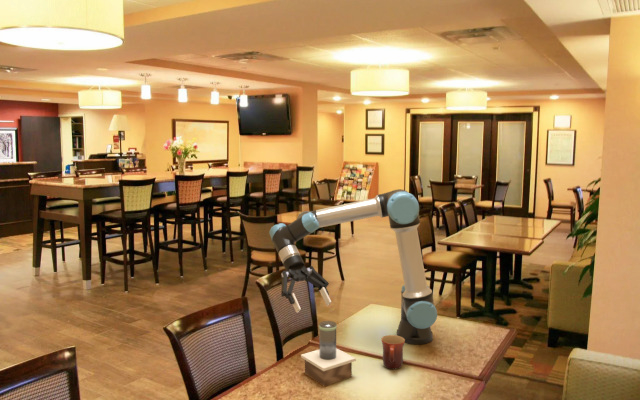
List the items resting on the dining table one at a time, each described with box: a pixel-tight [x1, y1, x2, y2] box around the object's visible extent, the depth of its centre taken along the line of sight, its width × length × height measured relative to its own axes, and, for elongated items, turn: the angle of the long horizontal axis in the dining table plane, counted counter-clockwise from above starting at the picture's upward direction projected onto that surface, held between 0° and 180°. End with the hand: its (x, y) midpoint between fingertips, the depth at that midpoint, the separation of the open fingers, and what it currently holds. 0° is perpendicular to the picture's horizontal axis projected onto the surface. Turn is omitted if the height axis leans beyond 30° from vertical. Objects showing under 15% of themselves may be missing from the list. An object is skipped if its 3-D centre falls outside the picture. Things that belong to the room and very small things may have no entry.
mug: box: [380, 334, 405, 370], centre depth 190 cm, size 12×9×10 cm
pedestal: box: [300, 347, 357, 387], centre depth 184 cm, size 14×14×7 cm
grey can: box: [318, 320, 337, 360], centre depth 183 cm, size 6×6×12 cm
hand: (314, 307), depth 188 cm, fingers open, 13 cm apart
